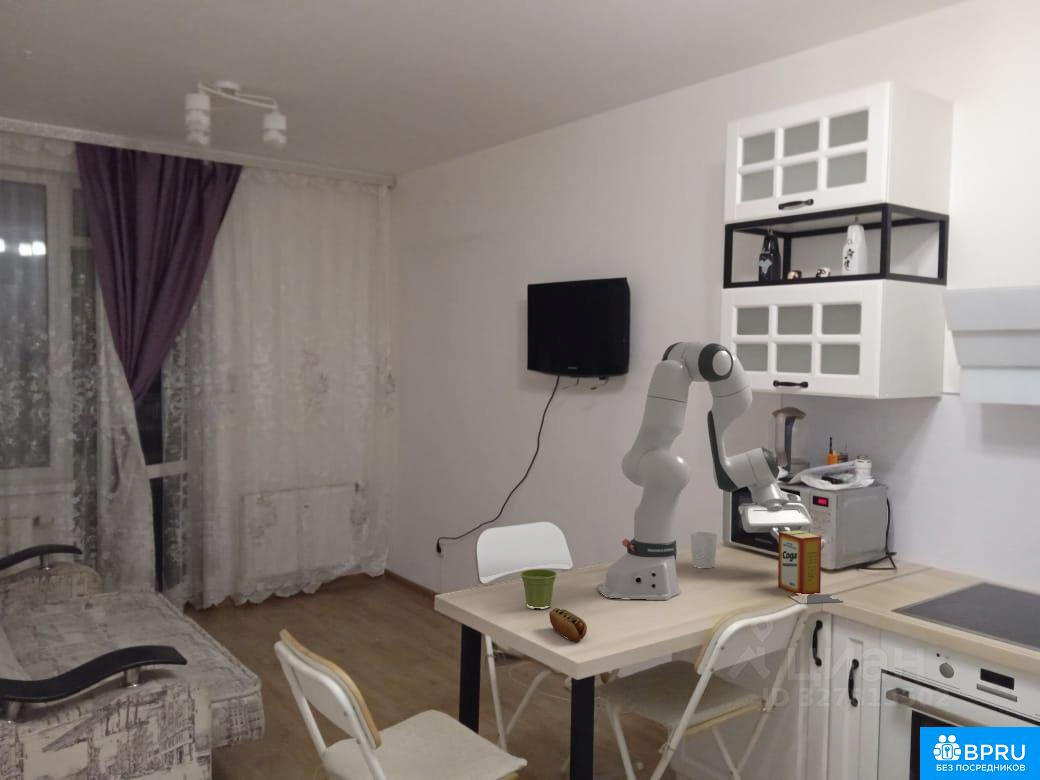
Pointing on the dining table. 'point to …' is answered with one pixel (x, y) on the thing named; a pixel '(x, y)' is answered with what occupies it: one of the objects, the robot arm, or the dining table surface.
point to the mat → (821, 599)
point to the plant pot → (538, 586)
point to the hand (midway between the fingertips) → (784, 542)
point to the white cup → (703, 549)
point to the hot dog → (568, 624)
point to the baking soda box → (799, 562)
